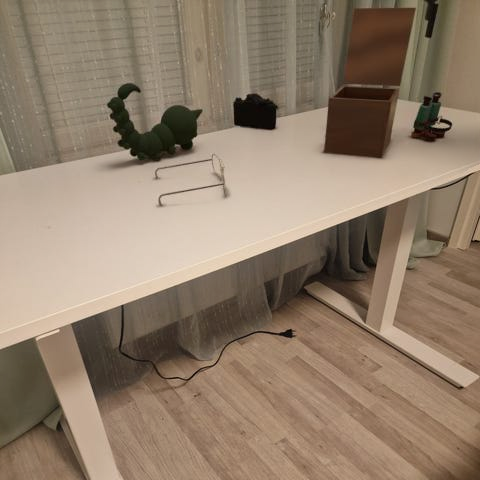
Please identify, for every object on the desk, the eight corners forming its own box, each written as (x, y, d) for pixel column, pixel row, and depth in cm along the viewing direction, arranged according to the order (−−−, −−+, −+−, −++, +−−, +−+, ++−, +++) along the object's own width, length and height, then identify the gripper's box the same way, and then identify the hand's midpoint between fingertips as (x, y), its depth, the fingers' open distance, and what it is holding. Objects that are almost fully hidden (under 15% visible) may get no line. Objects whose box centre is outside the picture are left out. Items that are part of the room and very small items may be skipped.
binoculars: (450, 104, 106) (415, 94, 111) (435, 147, 113) (403, 136, 119) (468, 98, 110) (434, 89, 116) (453, 140, 118) (421, 129, 123)
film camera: (286, 123, 134) (287, 91, 128) (272, 130, 127) (272, 97, 122) (244, 118, 140) (244, 87, 134) (229, 125, 133) (228, 93, 128)
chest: (381, 158, 106) (391, 101, 98) (323, 152, 110) (328, 98, 102) (390, 140, 117) (399, 88, 109) (337, 136, 121) (342, 85, 113)
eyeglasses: (231, 198, 89) (230, 174, 86) (159, 206, 87) (155, 181, 83) (218, 172, 101) (217, 150, 98) (155, 178, 99) (152, 156, 96)
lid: (415, 7, 101) (415, 8, 102) (354, 8, 106) (354, 9, 106) (399, 86, 108) (400, 86, 109) (342, 83, 113) (343, 83, 113)
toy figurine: (136, 176, 105) (217, 145, 115) (114, 92, 92) (206, 66, 103) (119, 167, 111) (197, 138, 121) (95, 86, 98) (185, 62, 109)
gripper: (540, -86, 91) (503, 33, 104) (421, -82, 92) (400, 36, 105) (558, -90, 85) (517, 37, 98) (431, -85, 86) (408, 39, 100)
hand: (456, 36), depth 102 cm, fingers open, 13 cm apart
